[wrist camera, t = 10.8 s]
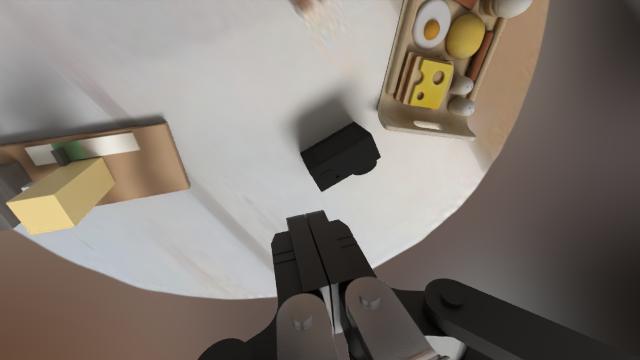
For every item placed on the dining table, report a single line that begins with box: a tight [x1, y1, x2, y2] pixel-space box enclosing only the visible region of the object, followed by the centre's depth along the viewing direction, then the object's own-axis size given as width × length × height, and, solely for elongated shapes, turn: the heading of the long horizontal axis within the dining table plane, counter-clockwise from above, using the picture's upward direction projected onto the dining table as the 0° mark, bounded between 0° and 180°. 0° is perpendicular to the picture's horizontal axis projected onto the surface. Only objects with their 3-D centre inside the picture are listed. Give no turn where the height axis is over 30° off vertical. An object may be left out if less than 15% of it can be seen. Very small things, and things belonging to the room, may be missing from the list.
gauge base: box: [0, 122, 190, 231], centre depth 33 cm, size 20×10×7 cm, turn 95°
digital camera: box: [300, 122, 381, 192], centre depth 41 cm, size 10×5×7 cm, turn 117°
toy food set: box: [378, 0, 533, 140], centre depth 38 cm, size 25×18×8 cm
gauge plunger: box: [6, 147, 116, 235], centre depth 30 cm, size 8×6×10 cm
